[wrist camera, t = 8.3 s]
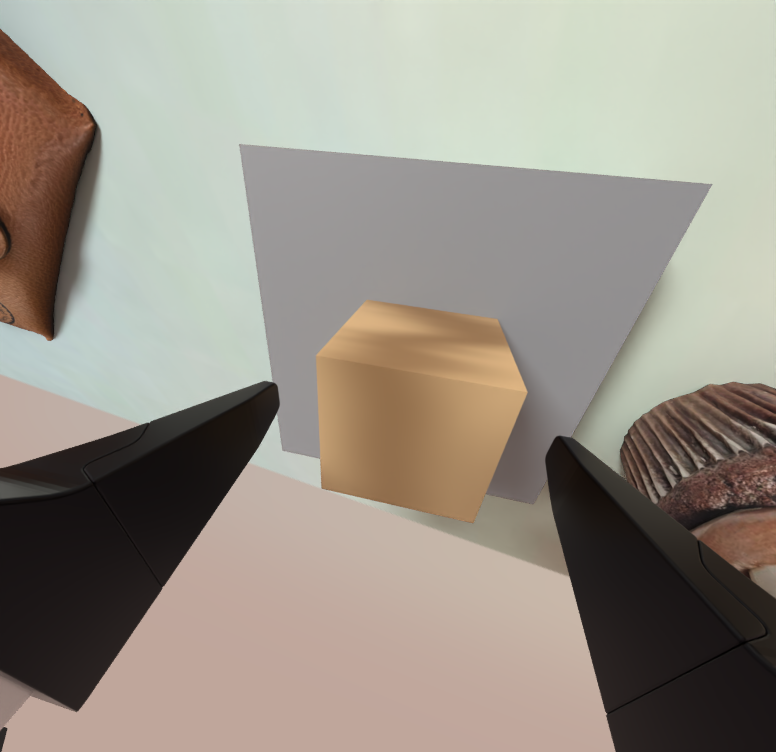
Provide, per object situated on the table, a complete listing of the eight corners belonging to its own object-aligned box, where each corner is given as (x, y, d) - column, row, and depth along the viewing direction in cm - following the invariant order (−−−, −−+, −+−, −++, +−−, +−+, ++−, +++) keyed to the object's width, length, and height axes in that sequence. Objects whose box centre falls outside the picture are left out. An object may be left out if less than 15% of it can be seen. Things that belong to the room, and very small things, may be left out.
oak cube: (497, 319, 11) (527, 392, 6) (466, 422, 13) (473, 523, 9) (366, 299, 11) (316, 355, 7) (361, 402, 14) (321, 488, 10)
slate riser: (633, 191, 11) (712, 184, 8) (518, 449, 18) (533, 504, 15) (295, 160, 13) (239, 144, 9) (311, 409, 20) (282, 450, 17)
